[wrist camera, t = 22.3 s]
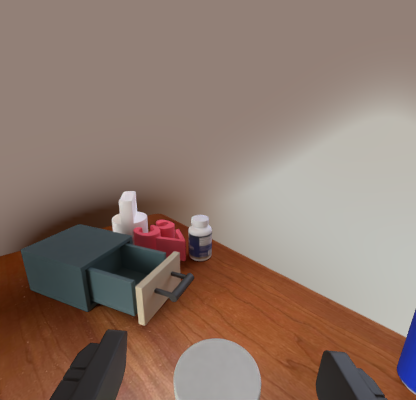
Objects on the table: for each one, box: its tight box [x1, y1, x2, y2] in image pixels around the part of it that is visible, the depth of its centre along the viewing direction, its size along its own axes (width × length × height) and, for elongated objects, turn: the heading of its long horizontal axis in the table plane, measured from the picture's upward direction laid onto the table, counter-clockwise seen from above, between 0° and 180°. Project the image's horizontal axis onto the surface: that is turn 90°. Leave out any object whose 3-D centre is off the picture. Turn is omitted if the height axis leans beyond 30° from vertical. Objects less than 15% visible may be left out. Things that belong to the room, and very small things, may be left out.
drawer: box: [85, 243, 194, 326], centre depth 44 cm, size 18×11×7 cm, turn 67°
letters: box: [133, 220, 186, 261], centre depth 62 cm, size 14×10×5 cm
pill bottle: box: [188, 215, 212, 261], centre depth 59 cm, size 5×5×10 cm
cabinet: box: [21, 224, 133, 312], centre depth 49 cm, size 15×13×9 cm
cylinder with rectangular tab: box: [112, 191, 148, 245], centre depth 67 cm, size 9×9×12 cm
